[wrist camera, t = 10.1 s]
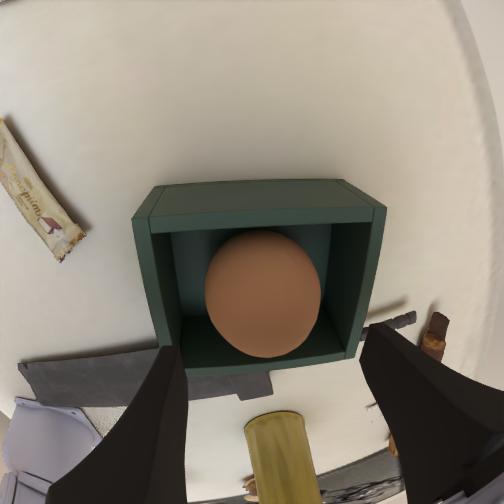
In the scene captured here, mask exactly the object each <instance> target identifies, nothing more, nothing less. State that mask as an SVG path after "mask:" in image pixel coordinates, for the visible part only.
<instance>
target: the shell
mask: <svg viewBox="0 0 504 504" xmlns="http://www.w3.org/2000/svg"><path fill="white" fill-rule="evenodd" d="M243 488H246V491H250V493H249V494H248V495H245V496H244V498H245V499H246V500H248V501H259V500H258V494H257V488H256V481H255V478H253V479H251V480H249V481H247V482H246V483H245V484H244V485H243Z"/></svg>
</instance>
